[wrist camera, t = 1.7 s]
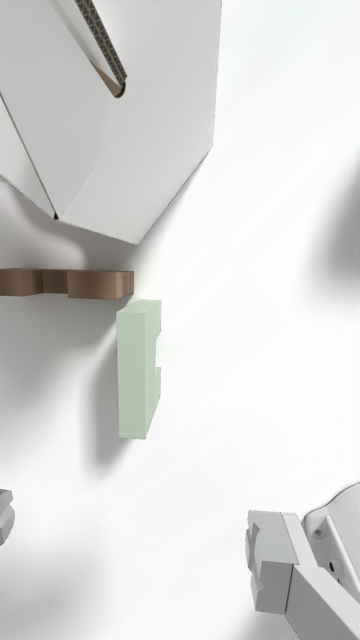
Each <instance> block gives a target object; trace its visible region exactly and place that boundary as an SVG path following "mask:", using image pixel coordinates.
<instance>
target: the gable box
mask: <svg viewBox="0 0 360 640" xmlns="http://www.w3.org/2000/svg"><path fill="white" fill-rule="evenodd" d="M221 8H222V0H0V175H1V176H2V177H3V178H4V179H5V180H7V181H8V182H9V183H10V184H11V185H13V186H14V187H15V188H16V189H17V190H19V191H20V192H21V193H22V194H23V195H25V196H26V197H27V198H28V199H29V200H31V201H32V202H33V203H34V204H35V205H37V206H38V207H39V208H40V209H41V210H43V211H44V212H45V213H46V214H47V215H49V216H50V217H51V218H52V219H53V220H55V221H59V222H62V223H65V224H69V225H72V226H75V227H78V228H82V229H85V230H88V231H92V232H95V233H98V234H101V235H105V236H108V237H111V238H115V239H118V240H121V241H124V242H128V243H131V244H134V245H138V244H139V243H140V241H141V240H142V239H143V237H144V236H145V235H146V233H147V232H148V231H149V229H150V228H151V227H152V225H153V224H154V223H155V221H156V220H157V219H158V217H159V216H160V215H161V214H162V212H163V211H164V210H165V208H166V207H167V206H168V204H169V203H170V202H171V200H172V199H173V198H174V196H175V195H176V194H177V192H178V191H179V190H180V188H181V187H182V186H183V184H184V183H185V182H186V180H187V179H188V178H189V177H190V175H191V174H192V173H193V171H194V170H195V169H196V167H197V166H198V165H199V163H200V162H201V161H202V159H203V158H204V157H205V155H206V154H207V153H208V151H209V150H210V149H211V147H212V145H213V134H214V118H215V102H216V86H217V71H218V55H219V39H220V24H221Z"/></svg>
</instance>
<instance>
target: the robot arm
mask: <svg viewBox="0 0 360 640" xmlns="http://www.w3.org/2000/svg"><path fill="white" fill-rule="evenodd" d="M12 500H13V496H12V491H9V490H3V489H0V546H1V545H2V544H4V542H5V541H6V539H7V537H8V536H9V534H10V532H11V529H12V527H13V524H14V518H15V513H14V509H13V508H12V507H11V506H10V505H9V504H10V503H11V501H12ZM247 520H248V525H249V529H248V530H246V539H245V540H246V558H247V564H248V568H249V569H250V571H251V572H252V577H251V588H252V594H253V600H254V606H255V611H261V612H268V613H275V614H282V615H286V619H287V620H288V622H289V623H290V625H291V626H292V628H293V629H294V631H295V633H296V634H297V636H298V637H299V639H300V640H360V483H358V484H356V485H353V486H351V487H349V488H348V489H346V490H345V491H343V492H342V493H341V494H339V495H338V496H337V497H336V498H335V499H334V500H333V501H332V502H331V503H329V504H328V505H327V506H324V507H322V508H319V509H317V510H315V511H313V512H311V513H309V514H308V515H307V516H306V520H305V521H306V531H307V537H306V535H305V532H304V530H303V528H302V525H301V523H300V520H299V518H298V516H297V515H296V514H295V513H281V512H280V513H279V512H269V511H255V510H249V512H248V519H247Z"/></svg>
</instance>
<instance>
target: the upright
mask: <svg viewBox="0 0 360 640" xmlns="http://www.w3.org/2000/svg"><path fill="white" fill-rule="evenodd" d="M40 293H63V294H68V298H87V299H116V300H117V299H119V298H122V297H124V296H127V295H130V294H132V293H134V271H102V270H62V269H23V268H11V269H0V296H28V295H34V294H40Z"/></svg>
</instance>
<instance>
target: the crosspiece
mask: <svg viewBox="0 0 360 640" xmlns="http://www.w3.org/2000/svg"><path fill="white" fill-rule="evenodd" d="M116 327H117V371H118V415H119V438H131V439H144V440H145V439H146V436H147V433H148V430H149V427H150V424H151V421H152V418H153V415H154V412H155V409H156V407H157V404H158V401H159V398H160V383H161V367H155V353H156V338H157V336H158V335H159V333H160V332H161V300H141V299H140V300H138V301H136V302H134V303H133V304H131V305H129V306H127V307H125V308H123V309H121V310H119V311H117V312H116Z"/></svg>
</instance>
